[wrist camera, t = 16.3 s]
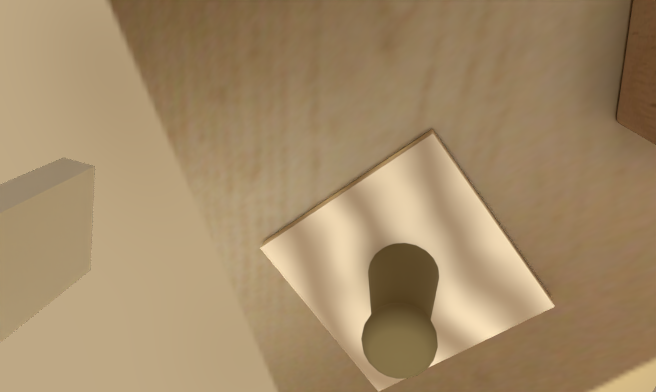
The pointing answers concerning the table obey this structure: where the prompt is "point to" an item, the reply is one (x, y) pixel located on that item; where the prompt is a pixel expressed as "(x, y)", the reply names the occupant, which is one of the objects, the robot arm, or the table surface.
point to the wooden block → (640, 73)
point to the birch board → (418, 229)
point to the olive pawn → (401, 311)
